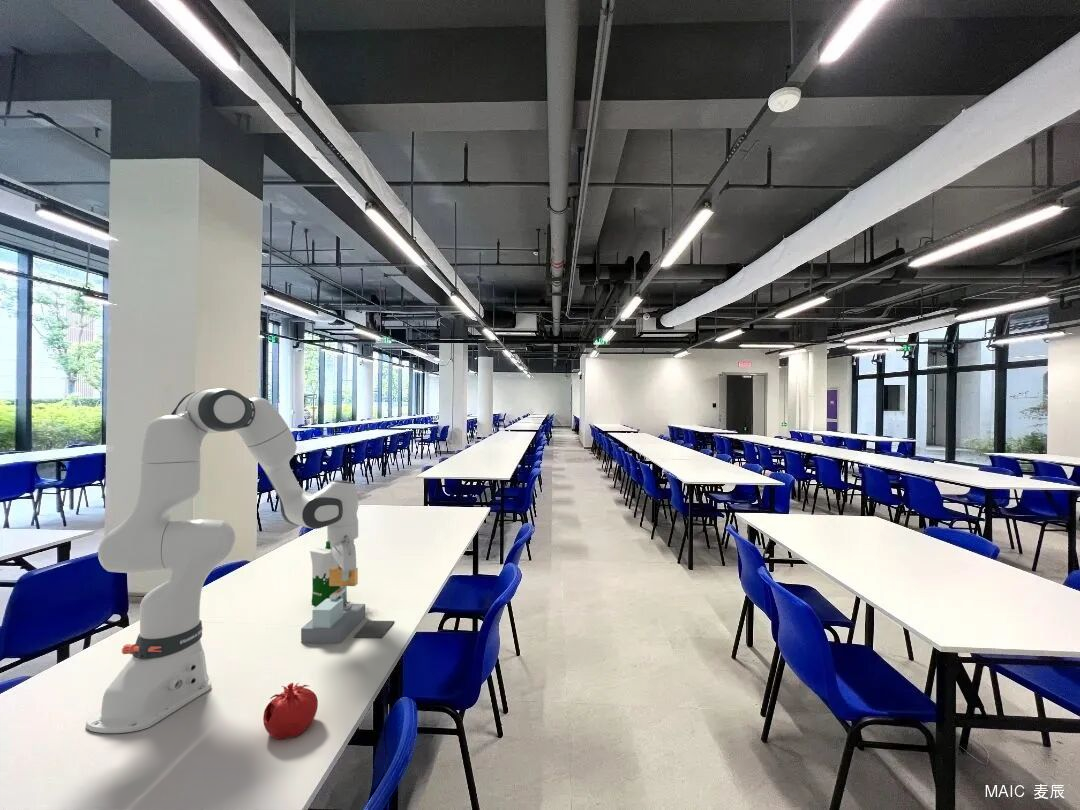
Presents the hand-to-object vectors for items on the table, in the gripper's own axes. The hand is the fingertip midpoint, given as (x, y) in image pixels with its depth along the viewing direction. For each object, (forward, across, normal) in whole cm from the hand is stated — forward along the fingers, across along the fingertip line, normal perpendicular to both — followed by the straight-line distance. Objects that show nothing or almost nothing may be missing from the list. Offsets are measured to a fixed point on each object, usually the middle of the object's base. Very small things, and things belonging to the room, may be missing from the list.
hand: (343, 577), depth 147 cm
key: (+9, -2, +2) cm, 9 cm away
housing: (+13, -4, +3) cm, 14 cm away
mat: (+13, -11, -6) cm, 19 cm away
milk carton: (+13, +18, +2) cm, 22 cm away
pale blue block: (+9, -8, +6) cm, 13 cm away
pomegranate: (+14, -46, +19) cm, 52 cm away
